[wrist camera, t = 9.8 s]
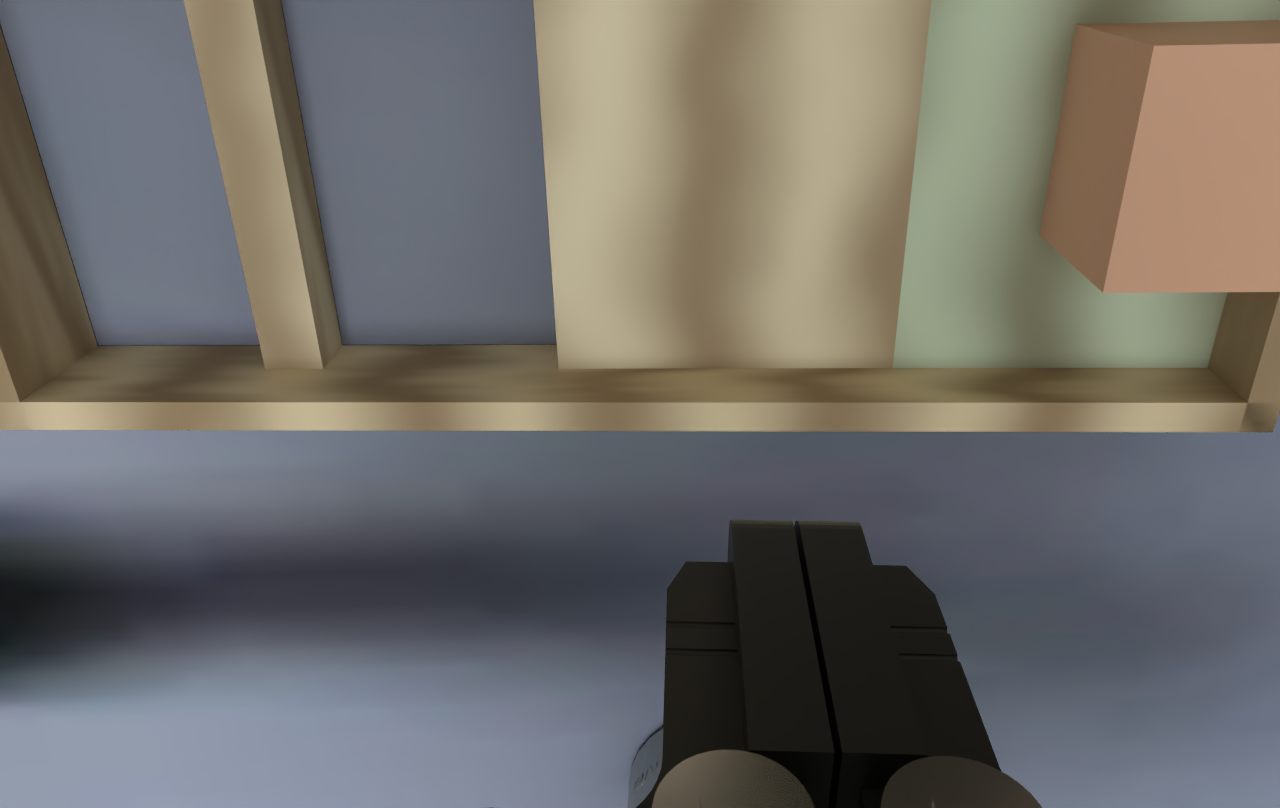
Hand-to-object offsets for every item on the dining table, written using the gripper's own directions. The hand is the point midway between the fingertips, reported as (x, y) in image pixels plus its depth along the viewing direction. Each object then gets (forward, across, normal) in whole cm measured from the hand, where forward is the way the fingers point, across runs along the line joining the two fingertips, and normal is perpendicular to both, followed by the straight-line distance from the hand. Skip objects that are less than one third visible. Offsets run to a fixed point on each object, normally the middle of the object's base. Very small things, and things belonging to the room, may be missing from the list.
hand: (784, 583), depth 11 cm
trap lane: (+22, +3, -1) cm, 22 cm away
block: (+19, -12, -2) cm, 23 cm away
